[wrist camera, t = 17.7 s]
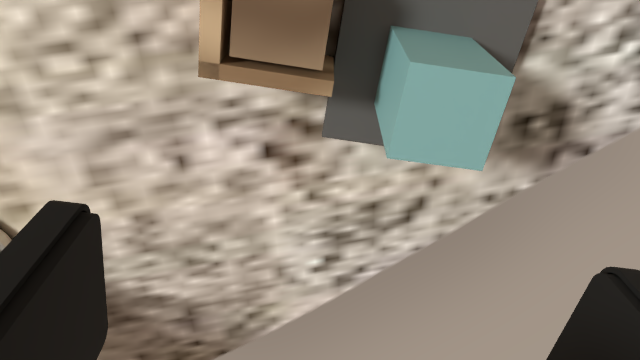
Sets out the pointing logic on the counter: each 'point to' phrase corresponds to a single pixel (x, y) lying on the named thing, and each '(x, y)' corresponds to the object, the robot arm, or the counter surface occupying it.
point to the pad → (415, 13)
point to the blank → (440, 98)
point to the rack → (267, 43)
